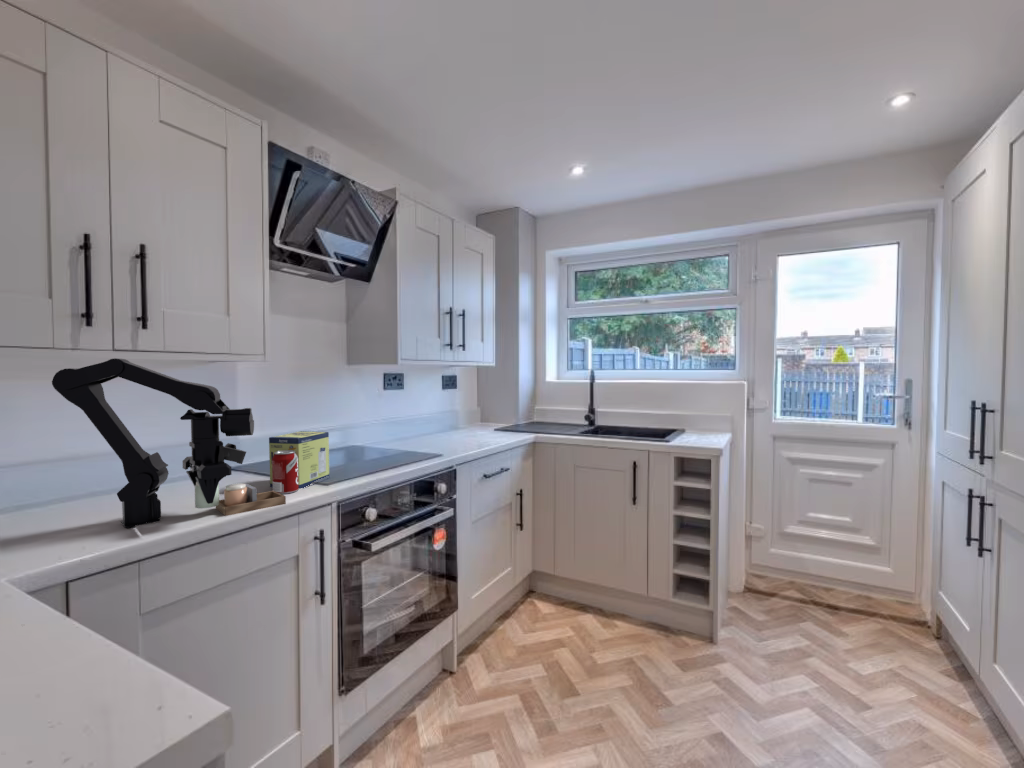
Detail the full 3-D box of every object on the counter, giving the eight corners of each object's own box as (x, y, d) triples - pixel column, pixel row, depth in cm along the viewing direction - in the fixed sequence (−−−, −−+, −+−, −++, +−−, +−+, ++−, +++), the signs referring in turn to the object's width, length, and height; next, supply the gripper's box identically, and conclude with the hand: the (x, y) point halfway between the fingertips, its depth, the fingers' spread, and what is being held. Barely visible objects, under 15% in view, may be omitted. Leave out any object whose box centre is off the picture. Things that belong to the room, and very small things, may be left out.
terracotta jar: (228, 513, 118) (227, 489, 118) (222, 509, 121) (221, 485, 121) (250, 508, 122) (249, 485, 121) (243, 505, 125) (243, 482, 125)
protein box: (269, 488, 144) (267, 437, 144) (302, 477, 160) (301, 430, 159) (299, 490, 142) (298, 438, 142) (330, 478, 157) (329, 431, 157)
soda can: (280, 497, 134) (279, 454, 134) (268, 493, 138) (267, 452, 138) (303, 492, 140) (302, 451, 139) (291, 488, 144) (290, 449, 143)
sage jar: (221, 505, 117) (221, 480, 117) (198, 509, 113) (197, 484, 113) (216, 501, 121) (215, 477, 120) (192, 505, 117) (192, 481, 117)
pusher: (252, 508, 121) (252, 488, 121) (243, 503, 126) (243, 484, 126) (257, 507, 122) (256, 488, 122) (248, 502, 127) (247, 483, 126)
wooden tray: (225, 517, 116) (225, 507, 116) (215, 510, 122) (215, 500, 122) (285, 505, 126) (285, 496, 126) (273, 499, 132) (273, 490, 132)
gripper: (254, 437, 116) (255, 501, 116) (230, 431, 129) (232, 488, 129) (200, 442, 108) (202, 511, 108) (181, 435, 121) (182, 496, 121)
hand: (207, 501), depth 117 cm, fingers closed on sage jar, 5 cm apart
